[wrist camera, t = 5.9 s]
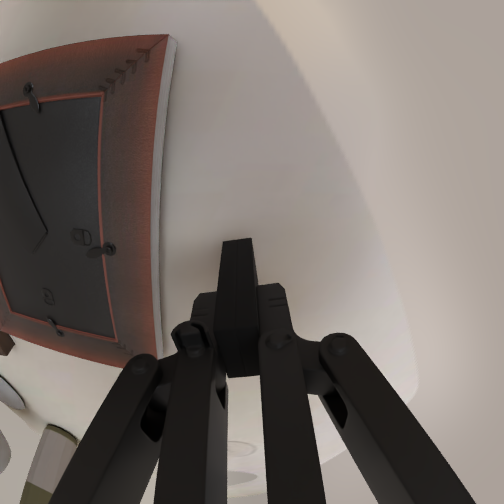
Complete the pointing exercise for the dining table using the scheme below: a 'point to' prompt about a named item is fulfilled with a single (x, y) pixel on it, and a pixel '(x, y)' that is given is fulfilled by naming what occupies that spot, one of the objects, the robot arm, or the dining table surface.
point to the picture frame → (84, 196)
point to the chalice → (7, 395)
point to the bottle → (48, 465)
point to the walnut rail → (5, 343)
